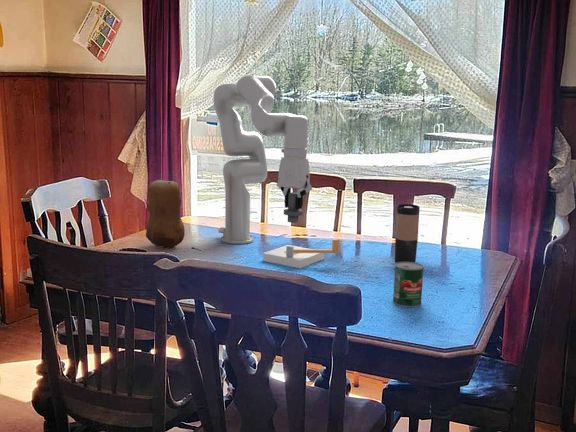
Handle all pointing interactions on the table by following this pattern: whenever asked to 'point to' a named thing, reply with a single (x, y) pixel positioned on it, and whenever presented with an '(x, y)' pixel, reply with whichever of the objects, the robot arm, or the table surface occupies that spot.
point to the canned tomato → (408, 284)
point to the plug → (292, 209)
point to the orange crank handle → (291, 250)
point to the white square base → (296, 261)
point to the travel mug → (406, 233)
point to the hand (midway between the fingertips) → (293, 207)
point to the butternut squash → (164, 214)
